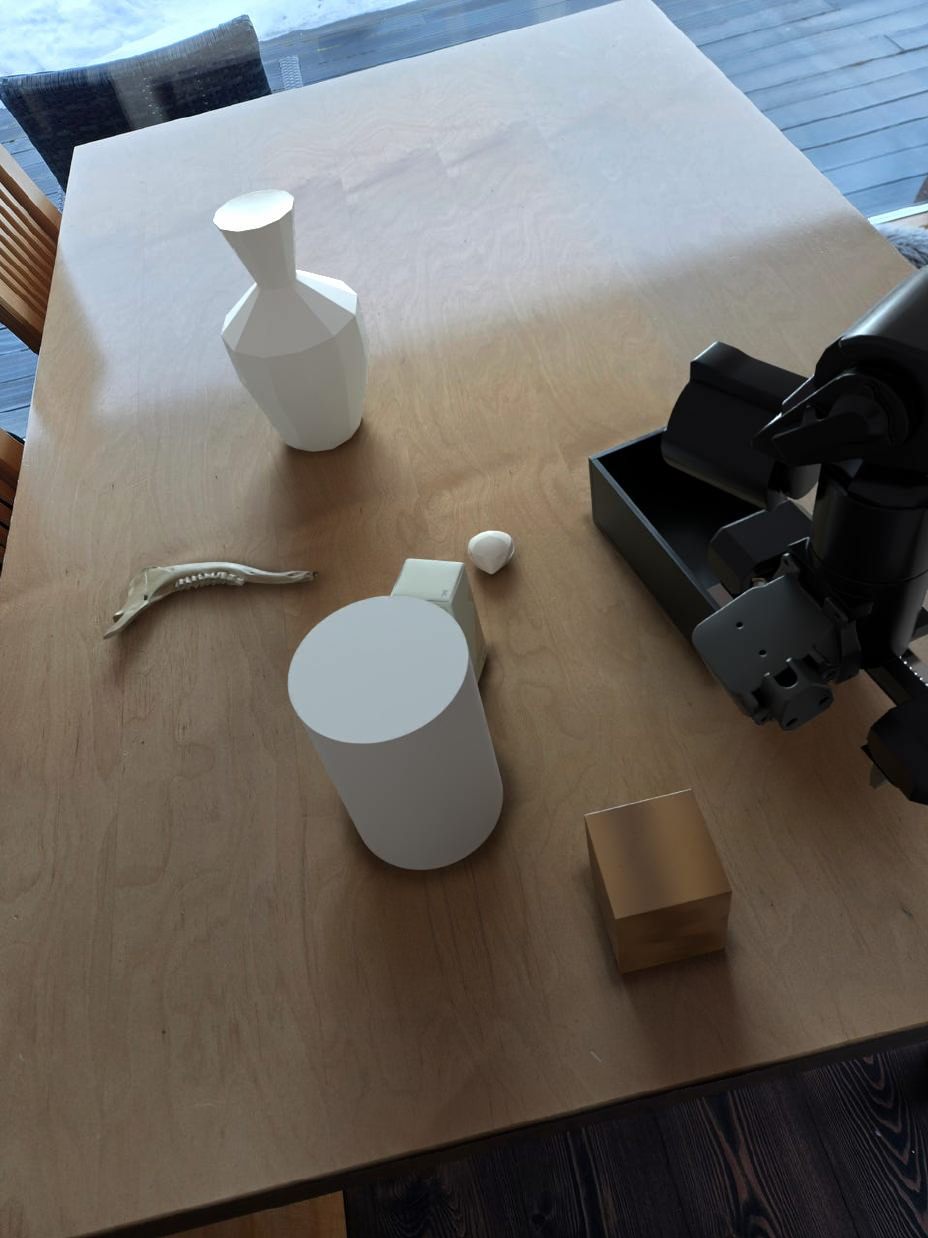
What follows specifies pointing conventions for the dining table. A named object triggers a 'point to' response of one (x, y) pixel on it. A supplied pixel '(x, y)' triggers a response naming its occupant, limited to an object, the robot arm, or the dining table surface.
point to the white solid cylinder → (400, 728)
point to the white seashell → (491, 550)
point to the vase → (293, 329)
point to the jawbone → (191, 584)
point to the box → (446, 599)
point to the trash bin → (662, 525)
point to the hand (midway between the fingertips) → (828, 723)
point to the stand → (658, 880)
